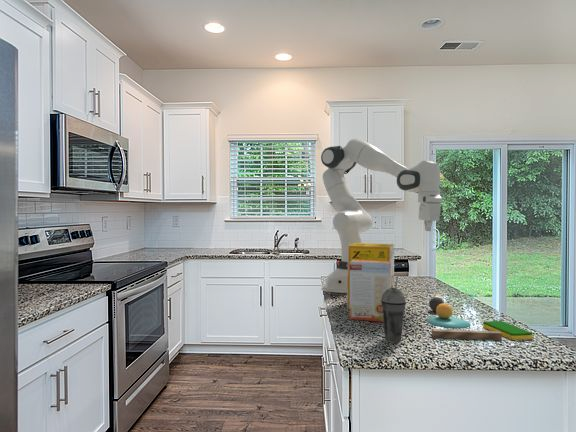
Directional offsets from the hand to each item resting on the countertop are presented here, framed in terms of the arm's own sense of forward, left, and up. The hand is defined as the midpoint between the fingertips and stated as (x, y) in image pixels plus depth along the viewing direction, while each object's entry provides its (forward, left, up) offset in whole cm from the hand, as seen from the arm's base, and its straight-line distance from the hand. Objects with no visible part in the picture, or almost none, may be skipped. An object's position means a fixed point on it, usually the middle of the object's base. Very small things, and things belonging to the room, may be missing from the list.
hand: (427, 231), depth 170 cm
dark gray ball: (-1, -16, -28) cm, 32 cm away
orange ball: (-1, -27, -28) cm, 39 cm away
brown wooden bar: (-1, -49, -30) cm, 57 cm away
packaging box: (-25, -10, -31) cm, 41 cm away
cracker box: (-28, -31, -31) cm, 52 cm away
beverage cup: (-24, -54, -31) cm, 66 cm away
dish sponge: (+14, -42, -31) cm, 54 cm away
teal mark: (-1, -32, -30) cm, 44 cm away
